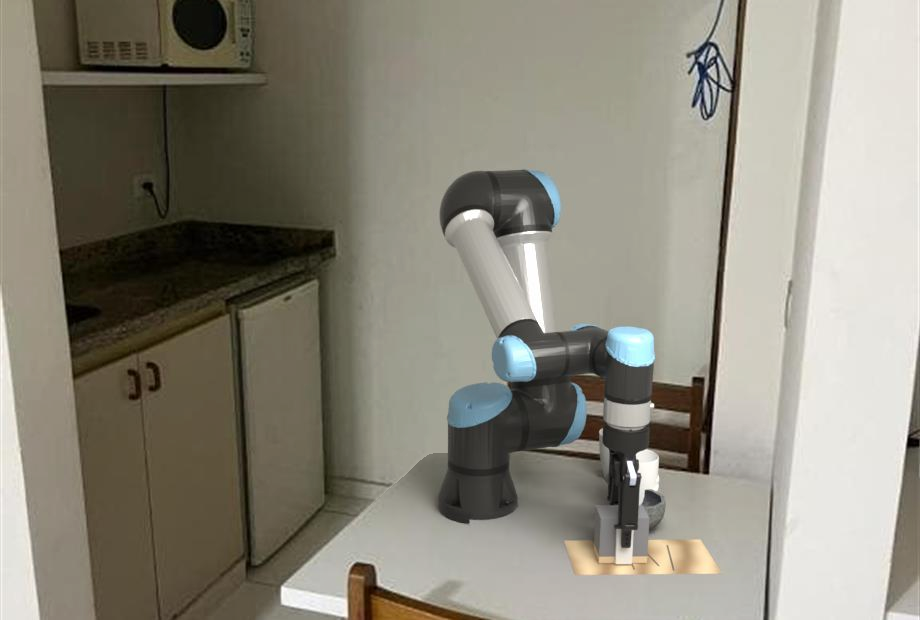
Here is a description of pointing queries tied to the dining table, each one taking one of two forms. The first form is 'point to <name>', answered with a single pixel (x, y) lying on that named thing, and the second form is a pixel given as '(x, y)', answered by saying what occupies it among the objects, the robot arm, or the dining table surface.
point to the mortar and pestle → (652, 506)
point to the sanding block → (607, 534)
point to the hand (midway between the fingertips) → (619, 554)
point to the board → (659, 559)
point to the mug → (648, 472)
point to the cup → (603, 454)
